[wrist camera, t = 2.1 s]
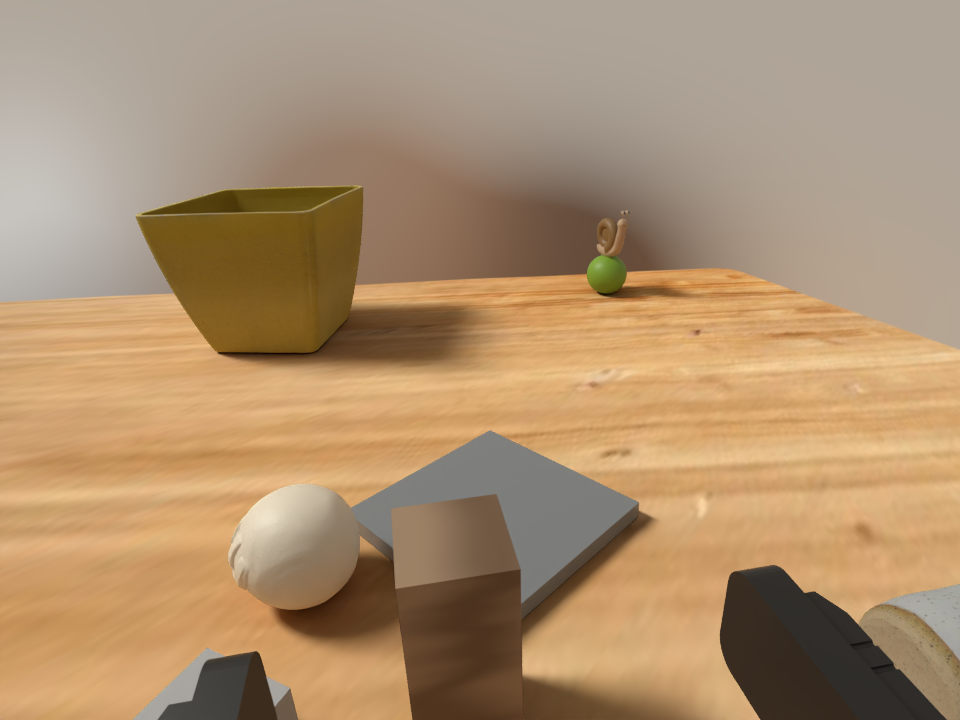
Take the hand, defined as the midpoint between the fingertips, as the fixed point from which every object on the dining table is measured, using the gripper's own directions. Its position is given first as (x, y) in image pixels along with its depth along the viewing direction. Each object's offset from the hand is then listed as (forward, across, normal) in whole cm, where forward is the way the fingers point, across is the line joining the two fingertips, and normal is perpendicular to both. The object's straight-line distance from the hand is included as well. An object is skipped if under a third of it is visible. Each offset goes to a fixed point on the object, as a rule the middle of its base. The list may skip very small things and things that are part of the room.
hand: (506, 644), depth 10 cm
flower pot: (+66, +15, +18) cm, 70 cm away
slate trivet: (+25, -4, +18) cm, 31 cm away
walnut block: (+11, 0, +18) cm, 21 cm away
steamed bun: (+21, +8, +18) cm, 29 cm away
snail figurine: (+70, -29, +18) cm, 77 cm away
